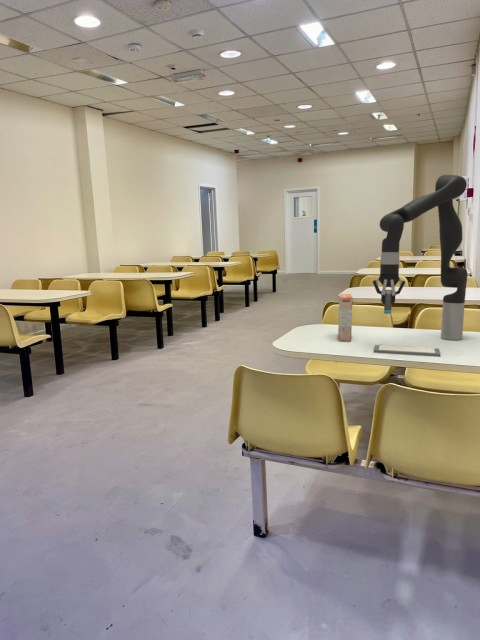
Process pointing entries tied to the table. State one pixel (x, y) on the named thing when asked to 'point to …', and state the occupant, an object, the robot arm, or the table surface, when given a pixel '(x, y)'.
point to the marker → (388, 302)
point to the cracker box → (345, 317)
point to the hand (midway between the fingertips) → (387, 303)
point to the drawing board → (407, 350)
